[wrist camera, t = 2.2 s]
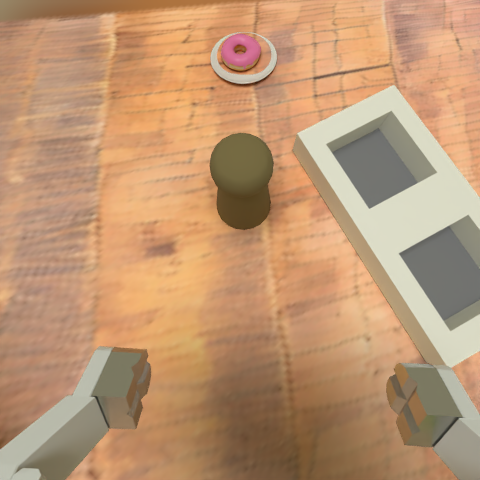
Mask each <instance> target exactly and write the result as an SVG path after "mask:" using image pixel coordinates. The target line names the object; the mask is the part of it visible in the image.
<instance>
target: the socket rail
mask: <svg viewBox="0 0 480 480" xmlns="http://www.w3.org/2000/svg"><path fill="white" fill-rule="evenodd" d="M292 151H293V152H294V154H295V155H296V157H297V159H298V160H299V162H300V163H301V165H302V166H303V168H304V170H305V171H306V173H307V174H308V176H309V178H310V179H311V181H312V182H313V184H314V185H315V187H316V189H317V190H318V192H319V193H320V195H321V197H322V198H323V200H324V201H325V203H326V204H327V206H328V208H329V209H330V211H331V212H332V214H333V216H334V217H335V219H336V220H337V222H338V223H339V225H340V227H341V228H342V230H343V231H344V233H345V235H346V236H347V238H348V239H349V241H350V243H351V244H352V246H353V247H354V249H355V250H356V252H357V254H358V255H359V257H360V258H361V260H362V262H363V263H364V265H365V266H366V268H367V269H368V271H369V273H370V274H371V276H372V277H373V279H374V281H375V282H376V284H377V285H378V287H379V288H380V290H381V292H382V293H383V295H384V296H385V298H386V300H387V301H388V303H389V304H390V306H391V308H392V309H393V311H394V312H395V314H396V315H397V317H398V319H399V320H400V322H401V323H402V325H403V327H404V328H405V330H406V331H407V333H408V334H409V336H410V338H411V339H412V341H413V342H414V344H415V346H416V347H417V349H418V350H419V352H420V353H421V355H422V357H423V358H424V360H425V361H426V362H427V363H431V364H434V365H446V366H449V367H450V368H452V367H453V366H455V365H457V364H458V363H460V362H462V361H463V360H465V359H467V358H468V357H470V356H472V355H473V354H475V353H477V352H478V351H480V197H479V196H478V195H477V193H476V192H475V191H474V189H473V188H472V187H471V186H470V184H469V183H468V182H467V180H466V179H465V178H464V176H463V175H462V174H461V172H460V171H459V170H458V168H457V167H456V166H455V164H454V163H453V162H452V160H451V159H450V158H449V157H448V155H447V154H446V153H445V151H444V150H443V149H442V147H441V146H440V145H439V143H438V142H437V141H436V139H435V138H434V137H433V135H432V134H431V133H430V132H429V130H428V129H427V128H426V126H425V125H424V124H423V122H422V121H421V120H420V118H419V117H418V116H417V114H416V113H415V112H414V110H413V109H412V108H411V106H410V105H409V104H408V103H407V101H406V100H405V99H404V97H403V96H402V95H401V93H400V92H399V91H398V89H397V88H396V87H395V85H393V86H391V87H389V88H387V89H385V90H383V91H381V92H379V93H377V94H375V95H373V96H371V97H369V98H367V99H365V100H363V101H361V102H359V103H357V104H355V105H353V106H351V107H349V108H347V109H345V110H343V111H341V112H339V113H337V114H335V115H333V116H331V117H329V118H327V119H325V120H323V121H321V122H319V123H317V124H315V125H313V126H311V127H309V128H307V129H305V130H303V131H301V132H299V133H297V135H296V139H295V143H294V146H293V150H292Z"/></svg>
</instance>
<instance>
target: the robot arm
mask: <svg viewBox="0 0 480 480" xmlns="http://www.w3.org/2000/svg"><path fill="white" fill-rule="evenodd" d="M147 358H148V353H147V349H133V348H119V347H104V346H99V347H98V348H97V349H96V350H95V352H94V354H93V356H92V358H91V360H90V361H89V363H88V365H87V367H86V369H85V371H84V373H83V375H82V377H81V379H80V381H79V383H78V385H77V387H76V389H75V391H74V393H73V395H67V396H66V397H65V398H63V399H62V400H61V401H60V402H58V403H57V404H56V405H55V406H53V407H52V408H51V409H50V410H49V411H47V412H46V413H45V414H44V415H42V416H41V417H40V418H39V419H37V420H36V421H35V422H34V423H33V424H31V425H30V426H29V427H28V428H26V429H25V430H24V431H23V432H21V433H20V434H19V435H18V436H16V437H15V438H14V439H13V440H12V441H10V442H9V443H8V444H7V445H5V446H4V447H3V448H2V449H0V480H65V479H66V478H67V477H68V476H69V475H70V474H71V473H72V471H73V470H74V469H75V468H76V467H77V466H78V465H79V464H80V462H81V461H82V460H83V459H84V458H85V457H86V456H87V455H88V453H89V452H90V451H91V450H92V449H93V448H94V447H95V445H96V444H97V443H98V442H99V441H100V440H101V439H102V438H103V436H104V435H105V434H106V433H107V432H108V431H109V429H108V428H113V429H136V428H137V425H138V421H139V418H140V415H141V412H142V408H143V406H142V402H141V399H142V398H143V397H144V396H145V395H146V394H147V392H148V388H149V385H150V378H151V366H150V364H149V363H148V362H147ZM394 371H395V375H393V376H391V377H389V379H388V382H387V386H386V393H387V398H388V401H389V404H390V407H391V408H392V409H393V410H394V411H395V412H396V413H397V414H398V417H397V421H396V423H397V426H398V429H399V431H400V434H401V437H402V439H403V442H404V445H410V446H421V447H433V450H434V451H435V453H436V454H437V455H438V456H439V457H440V458H441V459H442V461H443V462H444V463H445V464H446V465H447V466H448V468H449V469H450V470H451V471H452V472H453V473H454V475H455V476H456V477H457V478H458V479H459V480H480V414H479V413H478V411H477V409H476V408H475V406H474V404H473V403H472V401H471V399H470V398H469V396H468V394H467V393H466V391H465V389H464V388H463V386H462V384H461V383H460V381H459V379H458V378H457V376H456V375H455V373H454V371H453V370H452V369H451V368H450V367H449V366H446V365H430V364H413V363H399V364H397V365H396V366H395V368H394Z"/></svg>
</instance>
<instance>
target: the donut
mask: <svg viewBox="0 0 480 480" xmlns="http://www.w3.org/2000/svg"><path fill="white" fill-rule="evenodd" d="M238 33H242V32H238ZM249 33H250V32H249ZM233 34H236V33H233ZM233 34H230V35H228V36H226V37H224V38H222V39H221V40H219V41H218V42H217V43H216V45H215V46H214V48H213V49H212V52H211V57H210V60H211V65H212V67H213V69H214V71H215V72H216V73H217V74H218V75H219V76H220V77H222V78H223V79H225V80H227V81H230V82H233V83H238V84H247V83H253V82H257V81H259V80H261V79H263V78H265V77H266V76H268V75H269V74H270V73H271V72H272V70H273V69H274V67H275V65H276V62H277V54H276V50H275V48H274V46H273V45H272V43H271V42H270V41H269V40H267V39H266V38H265V37H263V36H261V35H258V34H256V35H258V36H260V37H262V38H263V39H265V41H266V42H267V43H268V44H269V46H270V48H271V53H272V56H271V61H270V63H269V65H268V66H267V68H266V69H264V70H263V71H262V72H260V73H257V74H254V75H239V74H232V73H229V72H227V71H225V70H224V69H222V67H221V66H220V65H219V63H218V60H217V51H218V48H219V46H220V44H221V43H222V42H223V41H224V40H225V39H226V38H228V37H229V36H231V35H233ZM253 34H255V33H253ZM236 51H244V52H245V53H244V54H236V53H235V52H236ZM260 53H261V47H260V45H259V43H258V42H257V41H256V40H255V39H253V38H252V37H250V36H248V35H245V34H236V35H233V36H231V37H229V38H228V39H227V40H226V41H225V42H224V44H223V46H222V50H221V55H222V60H223V62H224V63H225V65H226V66H228V67H229V68H231V69H233V70H238V71H243V70H247V69H250V68H251V67H253V66H254V65H255V64H256V63H257V61H258V59H259V56H260Z"/></svg>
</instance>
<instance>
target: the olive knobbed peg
mask: <svg viewBox="0 0 480 480" xmlns="http://www.w3.org/2000/svg"><path fill="white" fill-rule="evenodd" d="M273 164H274V162H273V158H272V154H271V151H270V150H269V148H268V146H267V145H266V143H264V142H263V141H262V140H261V139H260V138H258V137H256V136H253V135H251V134H246V133H238V134H232V135H230V136H228V137H226V138H224V139H222V140H221V141H220V142H219V143H218V144H217V145H216V147H215V148H214V150H213V152H212V155H211V160H210V171H211V176H212V178H213V180H214V182H215V184H216V185H217V186H218V192H217V210H218V213H219V215H220V217H221V219H222V220H223V221H224V222H225V223H226V224H227V225H229V226H231V227H233V228H235V229H243V230H245V229H251V228H254V227H256V226H258V225H260V224H261V223H262V222H263V221H264V220H265V219H266V217H267V215H268V213H269V211H270V204H271V202H270V196H269V190H268V185H267V184H268V182H269V180H270V178H271V176H272V173H273Z"/></svg>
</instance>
